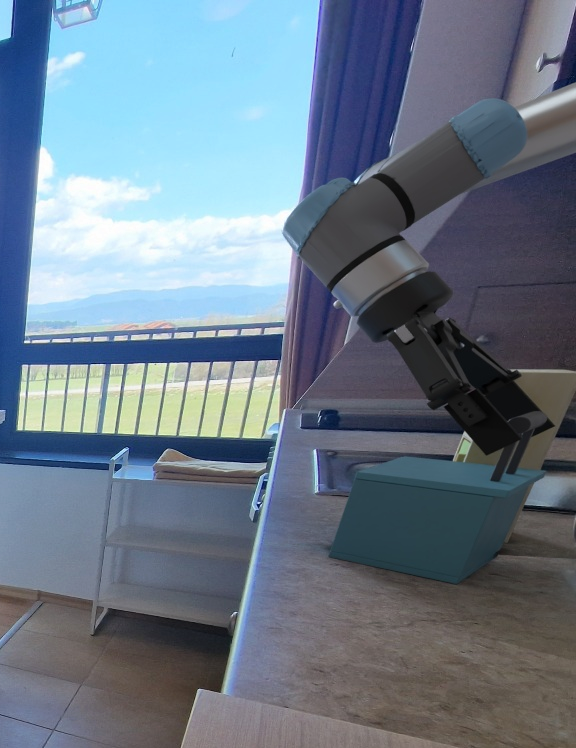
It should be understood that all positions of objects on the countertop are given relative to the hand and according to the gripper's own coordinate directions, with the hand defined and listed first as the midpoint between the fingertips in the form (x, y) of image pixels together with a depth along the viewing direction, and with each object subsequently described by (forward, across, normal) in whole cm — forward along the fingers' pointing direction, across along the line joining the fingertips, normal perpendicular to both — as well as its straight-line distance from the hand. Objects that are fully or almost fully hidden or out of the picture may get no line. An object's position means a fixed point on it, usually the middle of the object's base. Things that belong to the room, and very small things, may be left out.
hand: (522, 440), depth 67 cm
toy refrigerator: (+8, -14, -13) cm, 21 cm away
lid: (0, 0, -7) cm, 7 cm away
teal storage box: (+7, 0, -14) cm, 15 cm away
